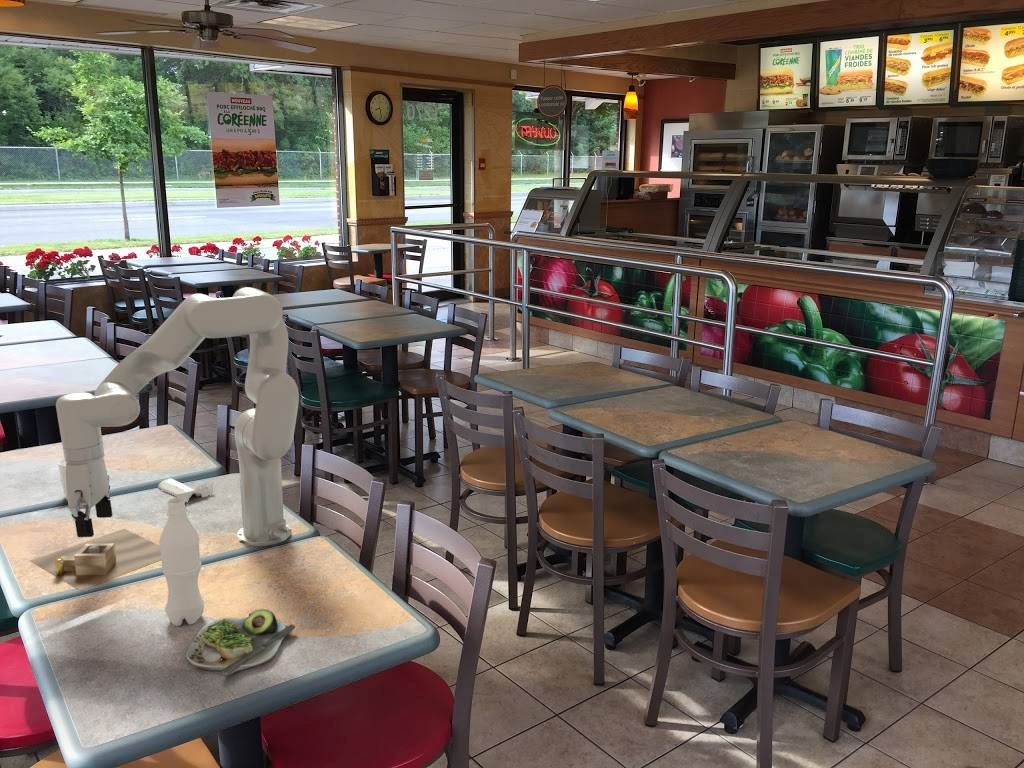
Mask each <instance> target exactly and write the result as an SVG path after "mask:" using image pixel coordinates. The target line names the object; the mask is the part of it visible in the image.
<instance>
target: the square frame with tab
mask: <svg viewBox="0 0 1024 768" xmlns="http://www.w3.org/2000/svg"><path fill="white" fill-rule="evenodd" d="M91 546H99V554H89V549H88V548H89V547H91ZM61 558H63V563H64V571H76V575H106V573H107V572H108V571H109V570H110V569H111V568H112V567H113V566H114V564H115V563H116V554H115V544H114V543H110V544H85V545H84V546H83V547H82V548H81V549H80V550H79V551H78V552H77V553H76V554H75V555H74V556H62V557H61Z"/></svg>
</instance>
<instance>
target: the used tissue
mask: <svg viewBox="0 0 1024 768" xmlns="http://www.w3.org/2000/svg"><path fill="white" fill-rule="evenodd" d="M207 486H208V485H207V483H204V484H202V485H201V484H200V485H199V486H196V487H194V489H193V488H191V487H189V486H187V485H185V484H184V483H182V482H179V481H178V480H175V479H173V477H172V478H170V477H169V478H166V479H163V480H162V481H161V482H159V483H158V486H157V487H158V489H160V490H161V492H163V491H165V492H164V493H166V492H168V493H167V494H169V493H170V494H169V495H171V494H172V495H171V496H173V495H174V496H173V497H175V498H183V499H184V501H185V502H187V503H189V502H190V498H191V497H192V496H193V495H194V494H195V496H196V497H200V496H201V498H206V497H212V496H213V494H214V493H216V492H215V490H214V486H213V484H212V485H210V486H208V487H207ZM208 495H210V496H208ZM188 501H189V502H188ZM186 505H188V506H189V504H186Z"/></svg>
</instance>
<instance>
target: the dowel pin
mask: <svg viewBox="0 0 1024 768" xmlns="http://www.w3.org/2000/svg"><path fill="white" fill-rule="evenodd" d="M55 568H56V576H63V575H64V574H65V571H64V563H63V558H57V559H55ZM56 576H55V577H56Z"/></svg>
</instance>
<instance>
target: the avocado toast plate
mask: <svg viewBox="0 0 1024 768" xmlns="http://www.w3.org/2000/svg"><path fill="white" fill-rule="evenodd" d="M295 628H296V626H295V624H289V625H286V624H285V623H284V622H283V621H281V620H279V619H277V618H276V615H275V614H274V612H272V610H269V609H264V608H262V609H256V610H254V611H252V612H250V613H249V614H248V616H246V617H232V616H231V617H223V618H222V617H221V618H218V619H214V620H213V621H210V622H209V623H207V624H205V625H203V626H202V627H201V628H200V629H199V631H198V632H197V634H196V635H195V637H194V639H192V642H191V644H190V645H189V647H188V649H187V650H186V653H185V658H186V661H187V662H188V663H189V664H191V666H193V667H195V668H198V669H201V670H204V671H208V670H209V672H220V674H221V675H223V676H230V675H232V674H233V673H235V672H240V671H241V670H245V669H250V668H252V667H253V668H254V667H256V666H259V665H261V664H264V663H266V662H268V661H270V660H271V659H273V657H274V656H275V655H276V654H277V652H278V650H279V648H280V647H281V643H282V642H283V641H284V639H285V638H286V637H287V636H288V635H290V633H292V632H293V630H295ZM206 646H208V647H209V646H210V648H212V649H216V651H217V653H218V655H220V656H221V657H220V659H219V660H220V661H219V660H215V661H214V660H213V661H214V662H213V661H208V660H207V659H206V658H205V657H204V655H203V650H204V648H205V647H206ZM221 659H222V660H221ZM206 660H207V661H206Z"/></svg>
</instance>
